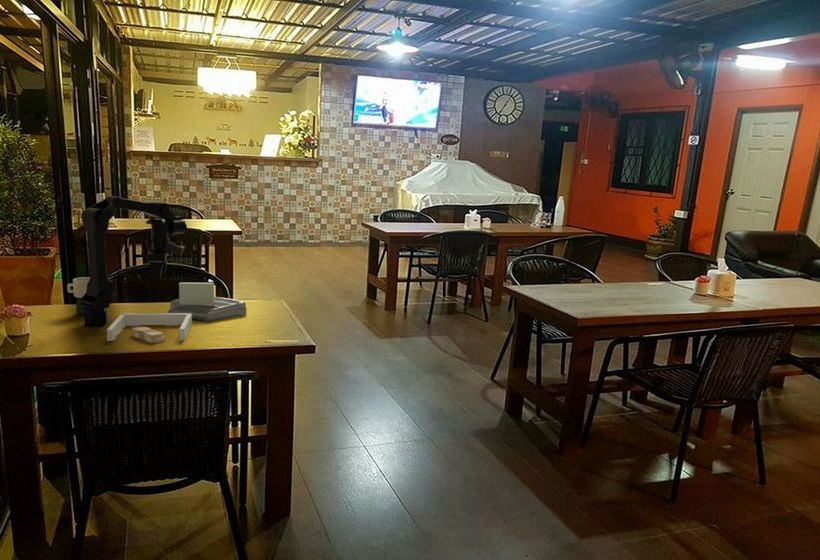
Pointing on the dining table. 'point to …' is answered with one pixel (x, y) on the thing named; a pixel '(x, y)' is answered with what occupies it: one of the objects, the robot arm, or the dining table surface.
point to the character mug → (79, 291)
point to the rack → (151, 322)
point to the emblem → (211, 309)
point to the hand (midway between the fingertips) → (161, 276)
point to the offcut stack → (148, 334)
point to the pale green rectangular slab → (196, 293)
